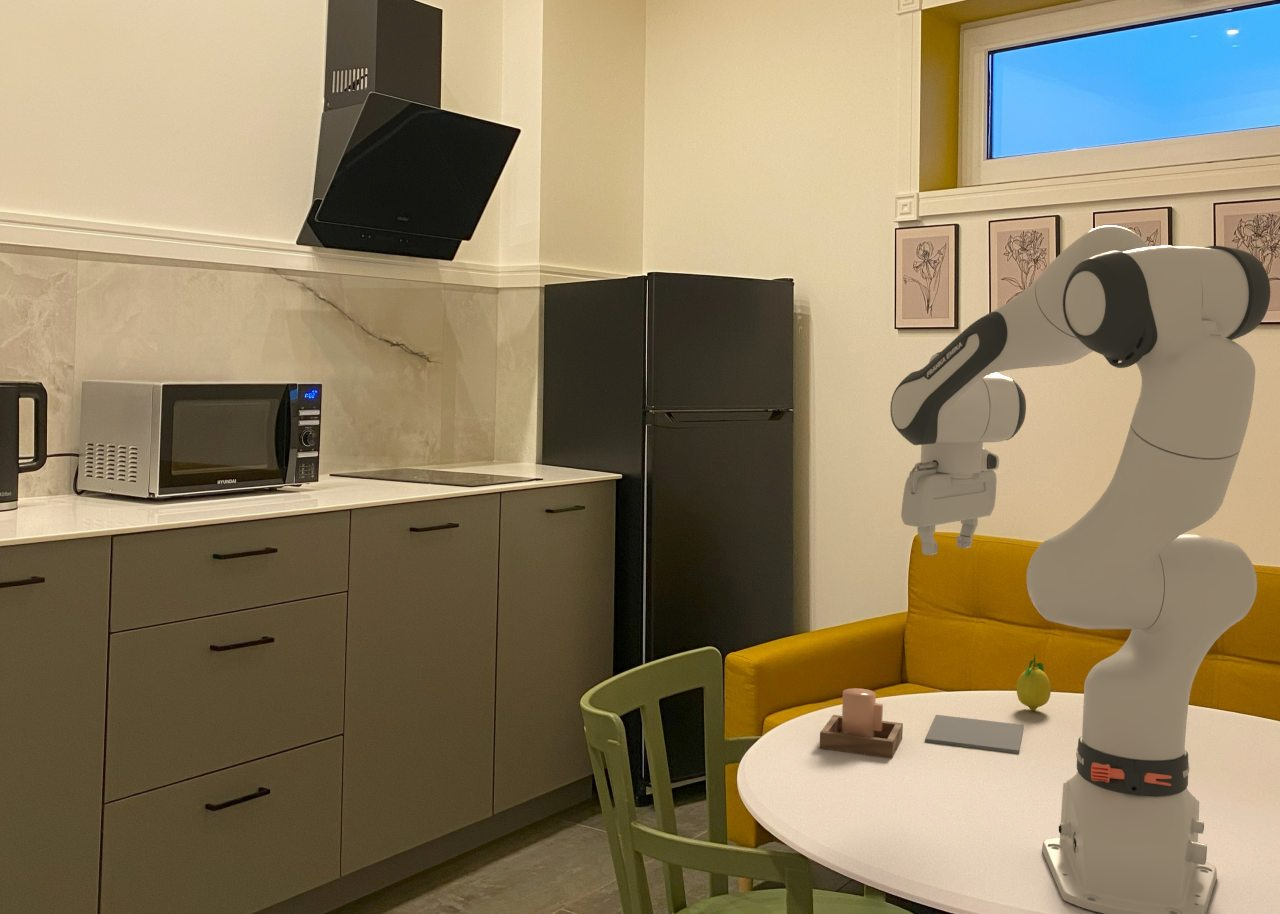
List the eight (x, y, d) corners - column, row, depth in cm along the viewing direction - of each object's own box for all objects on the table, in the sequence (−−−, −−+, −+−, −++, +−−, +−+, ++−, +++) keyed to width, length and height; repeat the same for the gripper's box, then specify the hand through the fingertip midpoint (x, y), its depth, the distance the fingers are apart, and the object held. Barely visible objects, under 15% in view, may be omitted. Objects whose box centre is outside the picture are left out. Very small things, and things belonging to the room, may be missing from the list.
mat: (1018, 753, 173) (1019, 750, 173) (924, 741, 178) (925, 738, 178) (1023, 727, 186) (1023, 724, 186) (935, 717, 191) (935, 714, 191)
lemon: (1025, 717, 193) (1027, 658, 192) (1006, 707, 198) (1008, 650, 198) (1060, 714, 194) (1062, 656, 194) (1040, 705, 200) (1042, 648, 199)
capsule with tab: (878, 751, 174) (879, 699, 173) (838, 745, 176) (839, 694, 175) (883, 741, 178) (885, 691, 178) (844, 736, 180) (846, 686, 180)
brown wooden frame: (892, 758, 170) (892, 741, 170) (819, 748, 174) (820, 732, 174) (902, 738, 180) (902, 723, 180) (833, 730, 184) (833, 714, 183)
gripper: (930, 465, 160) (926, 562, 161) (1005, 457, 174) (1000, 546, 175) (892, 461, 165) (888, 555, 166) (968, 453, 178) (964, 540, 180)
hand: (947, 550), depth 171 cm, fingers open, 8 cm apart
